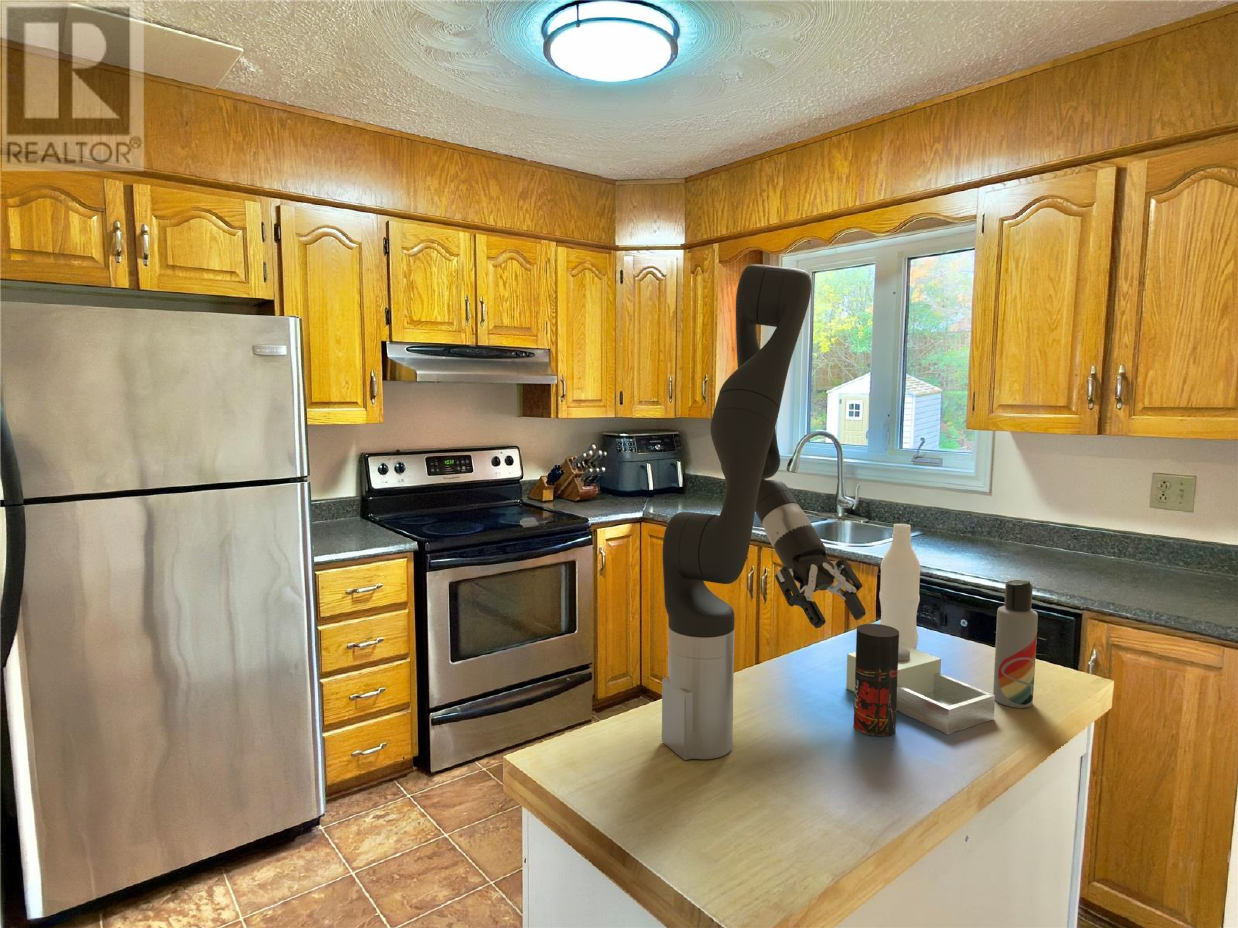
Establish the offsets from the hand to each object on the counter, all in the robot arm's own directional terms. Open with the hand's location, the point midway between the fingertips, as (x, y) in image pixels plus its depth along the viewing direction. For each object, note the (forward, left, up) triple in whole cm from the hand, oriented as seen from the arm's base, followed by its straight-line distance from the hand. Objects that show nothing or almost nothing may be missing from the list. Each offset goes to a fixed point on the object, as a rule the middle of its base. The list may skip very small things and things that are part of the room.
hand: (841, 621), depth 112 cm
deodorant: (0, -7, -14) cm, 16 cm away
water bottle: (+28, +13, -14) cm, 34 cm away
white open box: (+13, -8, -14) cm, 21 cm away
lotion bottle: (+27, -11, -14) cm, 33 cm away
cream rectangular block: (+13, +1, -14) cm, 19 cm away
